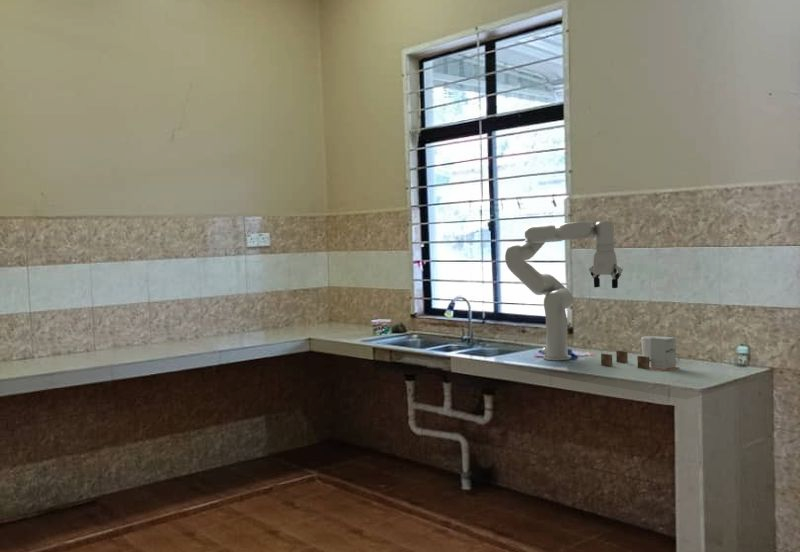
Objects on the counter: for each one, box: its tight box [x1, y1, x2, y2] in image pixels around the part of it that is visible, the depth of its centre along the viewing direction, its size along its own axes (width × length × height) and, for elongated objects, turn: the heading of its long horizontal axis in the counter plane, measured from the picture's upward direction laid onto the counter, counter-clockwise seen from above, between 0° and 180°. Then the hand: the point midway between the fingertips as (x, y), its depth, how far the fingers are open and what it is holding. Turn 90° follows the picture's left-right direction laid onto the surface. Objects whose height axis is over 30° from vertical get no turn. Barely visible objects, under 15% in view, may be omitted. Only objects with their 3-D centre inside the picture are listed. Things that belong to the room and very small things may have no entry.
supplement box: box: [650, 335, 677, 369], centre depth 319 cm, size 7×7×13 cm
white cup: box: [640, 335, 658, 361], centre depth 341 cm, size 8×8×10 cm
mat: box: [649, 366, 680, 372], centre depth 319 cm, size 9×9×1 cm
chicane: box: [600, 350, 651, 370], centre depth 328 cm, size 20×17×5 cm
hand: (605, 287), depth 337 cm, fingers open, 9 cm apart
